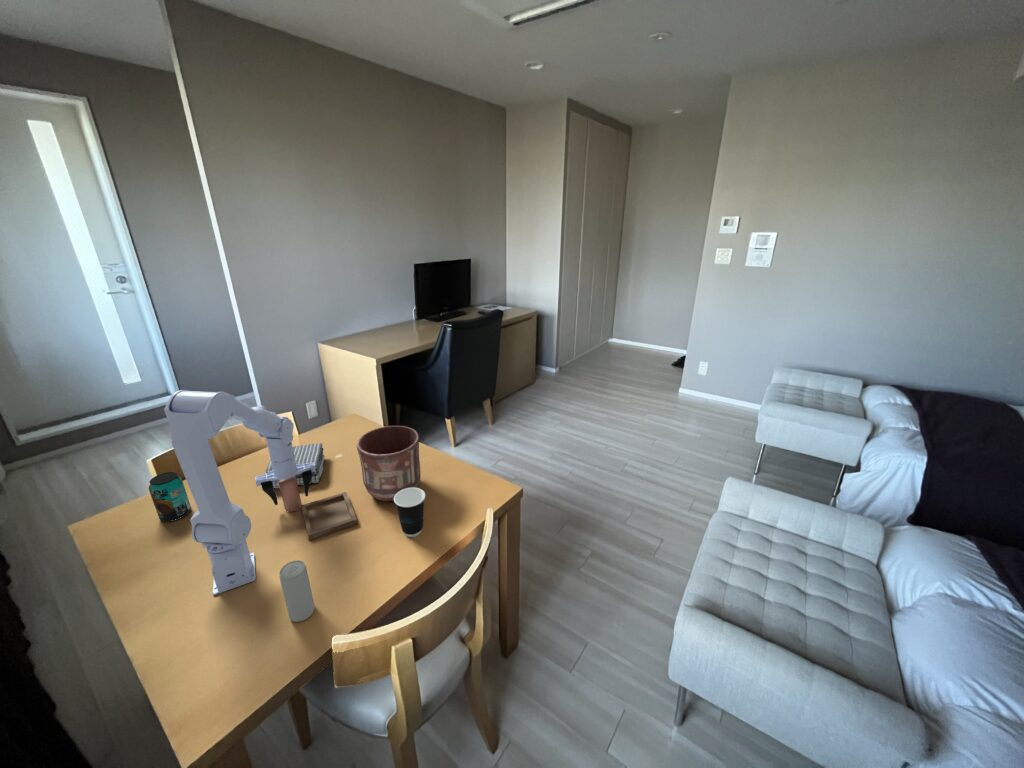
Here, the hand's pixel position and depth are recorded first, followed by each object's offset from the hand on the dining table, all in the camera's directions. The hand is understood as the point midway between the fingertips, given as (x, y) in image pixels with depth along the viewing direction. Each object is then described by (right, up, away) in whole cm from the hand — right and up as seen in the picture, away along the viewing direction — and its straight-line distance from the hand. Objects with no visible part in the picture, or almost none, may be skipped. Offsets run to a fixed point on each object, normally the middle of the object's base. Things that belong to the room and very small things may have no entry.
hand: (291, 498), depth 116 cm
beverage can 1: (-31, -4, -3) cm, 31 cm away
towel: (-7, +3, +18) cm, 19 cm away
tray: (+12, -4, -3) cm, 13 cm away
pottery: (+27, 0, +9) cm, 28 cm away
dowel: (0, -3, +1) cm, 3 cm away
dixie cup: (+36, -7, -7) cm, 38 cm away
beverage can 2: (+19, -16, -31) cm, 39 cm away
